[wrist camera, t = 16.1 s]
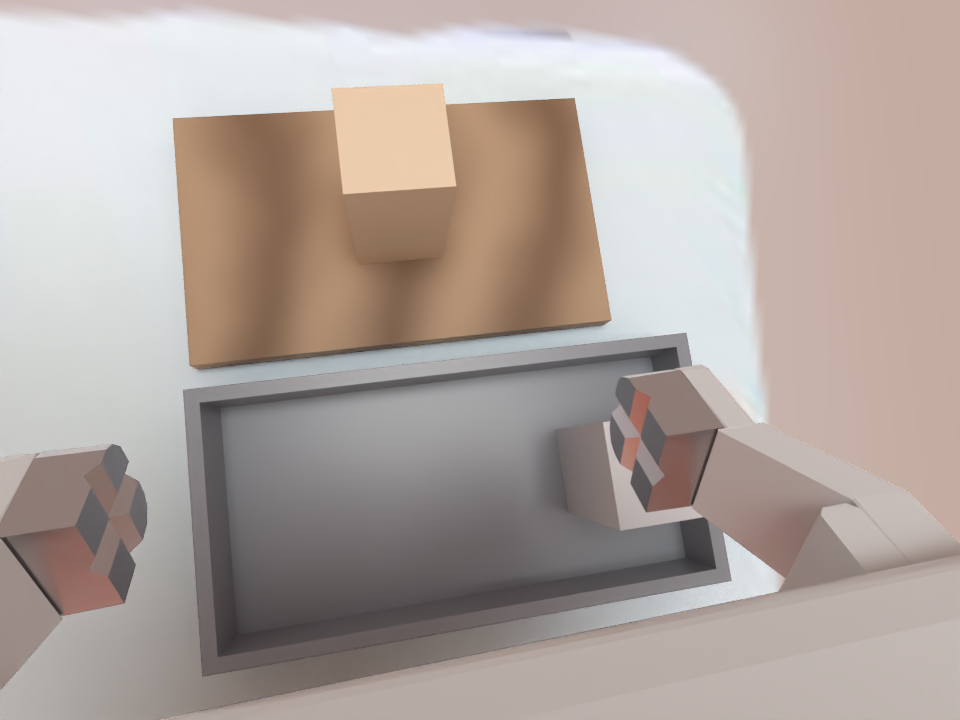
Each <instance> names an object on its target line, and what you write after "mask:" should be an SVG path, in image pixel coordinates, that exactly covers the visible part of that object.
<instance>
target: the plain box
mask: <svg viewBox="0 0 960 720" xmlns="http://www.w3.org/2000/svg"><path fill="white" fill-rule="evenodd" d="M609 427H610V421H608V422H601V423H594V424H588V425H581V426H574V427H568V428H561V429H556V434H557V441H558V447H559V454H560V461H561V467H562V474H563V481H564V487H565V494H566V501H567V507H568V512H569V513H572V514H575V515H578V516H580V517H583V518H586V519H589V520H592V521H594V522H597V523H600V524H603V525H606V526H608V527H611V528H614V529H617V530H620V531H622V530H628V529H634V528H640V527H647V526H653V525H659V524H665V523H671V522H677V521H683V520H690V519H696V518H702V517H703V516H702V515H700V514H699V513H698V512H696V511H695V510H694V509H692V507H693V506H689V507H682V508H675V509H668V510H661V511H654V512H648V513H646V512H645V510H644V508H643V506H642V504H641V502H640V500H639V499H638V497H637V495H636V493H635V491H634V489H633V488H632V486H631V484H630V482H631V477H632V473H633V472H632V471H630V470H628V469H627V468H625V467H624V466H622V465H620V463H619V461H618V459H617V457H616V455H615V453H614V450H613V447H612V444H611V438H610V429H609Z"/></svg>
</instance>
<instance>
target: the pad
mask: <svg viewBox="0 0 960 720" xmlns="http://www.w3.org/2000/svg"><path fill="white" fill-rule="evenodd" d="M446 113H447V120H448V127H449V135H450V142H451V150H452V157H453V165H454V172H455V180H456V191H455V195H454V200H453V205H452V210H451V214H450V219H449V224H448V229H447V233H446V238H445V243H444V248H443V253H442V257H439V258H428V259H416V260H405V261H393V262H382V263H371V264H358V259H357V255H356V250H355V246H354V241H353V237H352V232H351V228H350V223H349V219H348V214H347V210H346V205H345V201H344V196H343V189H342V180H341V171H340V161H339V152H338V143H337V133H336V124H335V115H334V110H331V111H311V112H291V113H271V114H251V115H232V116H212V117H192V118H173V130H174V145H175V159H176V173H177V188H178V202H179V217H180V231H181V246H182V260H183V275H184V289H185V303H186V318H187V332H188V347H189V361H190V366H192V367H194V368H197V369H205V368H214V367H223V366H232V365H241V364H251V363H260V362H269V361H278V360H287V359H296V358H305V357H315V356H324V355H333V354H342V353H351V352H360V351H370V350H379V349H388V348H397V347H406V346H415V345H424V344H434V343H443V342H452V341H461V340H470V339H479V338H489V337H498V336H507V335H516V334H525V333H534V332H543V331H553V330H562V329H571V328H580V327H589V326H598V325H604V324H606V323H607V322H609V321H611V315H610V309H609V303H608V297H607V291H606V285H605V279H604V273H603V267H602V261H601V255H600V248H599V242H598V236H597V230H596V224H595V218H594V212H593V206H592V200H591V194H590V188H589V182H588V176H587V170H586V164H585V158H584V152H583V146H582V140H581V134H580V128H579V122H578V116H577V110H576V104H575V98H568V99H549V100H529V101H509V102H489V103H469V104H450V105H446Z"/></svg>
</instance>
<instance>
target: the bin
mask: <svg viewBox="0 0 960 720" xmlns="http://www.w3.org/2000/svg"><path fill="white" fill-rule="evenodd" d="M689 366H692V361H691V356H690V350H689V345H688V339H687V334H686V333H680V334H671V335H663V336H654V337H645V338H636V339H627V340H619V341H610V342H601V343H592V344H583V345H575V346H566V347H557V348H548V349H539V350H531V351H522V352H513V353H504V354H495V355H487V356H478V357H469V358H460V359H451V360H443V361H434V362H425V363H416V364H407V365H399V366H390V367H381V368H372V369H363V370H355V371H346V372H337V373H328V374H320V375H311V376H302V377H293V378H284V379H276V380H267V381H258V382H249V383H240V384H232V385H223V386H214V387H205V388H196V389H188V390H183V395H184V410H185V425H186V440H187V455H188V470H189V484H190V499H191V514H192V529H193V544H194V559H195V573H196V588H197V603H198V618H199V633H200V648H201V663H202V677H203V676H209V675H214V674H220V673H225V672H231V671H236V670H242V669H247V668H253V667H259V666H264V665H270V664H275V663H281V662H286V661H292V660H297V659H303V658H308V657H314V656H319V655H325V654H330V653H336V652H341V651H347V650H352V649H358V648H363V647H369V646H374V645H380V644H386V643H391V642H397V641H402V640H408V639H413V638H419V637H424V636H430V635H435V634H441V633H446V632H452V631H457V630H463V629H468V628H474V627H479V626H485V625H490V624H496V623H501V622H507V621H513V620H518V619H524V618H529V617H535V616H540V615H546V614H551V613H557V612H562V611H568V610H573V609H579V608H584V607H590V606H595V605H601V604H606V603H612V602H617V601H623V600H629V599H634V598H640V597H645V596H651V595H656V594H662V593H667V592H673V591H678V590H684V589H689V588H695V587H700V586H706V585H711V584H717V583H722V582H728V581H732V580H731V575H730V569H729V564H728V558H727V553H726V547H725V542H724V536H723V531H722V530H720V529H719V528H718V527H716V526H715V525H714V524H712V523H711V522H710V521H708V520H707V519H706V518H704V517H702V518H696V519H690V520H683V521H677V522H671V523H665V524H659V525H653V526H647V527H640V528H634V529H628V530H622V531H620V530H617V529H614V528H611V527H608V526H606V525H603V524H600V523H597V522H594V521H592V520H589V519H586V518H583V517H580V516H578V515H575V514H572V513H569V512H568V507H567V501H566V494H565V487H564V481H563V474H562V467H561V461H560V454H559V447H558V441H557V434H556V429H561V428H568V427H574V426H581V425H588V424H594V423H601V422H608V421H610V420H611V414H612V412H613V411H614V410H615V409H616V408H617V407H618V406H619V405H620V403H619V401H618V399H617V397H616V396H615V391H616V386H617V383H618V381H619V379H620V378H621V377H622V376H629V375H637V374H644V373H651V372H658V371H665V370H674V369H676V368H682V367H689Z"/></svg>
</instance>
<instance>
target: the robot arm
mask: <svg viewBox="0 0 960 720" xmlns="http://www.w3.org/2000/svg"><path fill="white" fill-rule="evenodd" d="M615 396H616V397H617V399H618V401H619V403H620V405H619V406H618V407H617V408H616V409H615V410H614V411H613V412H612V414H611V420H610V427H609V429H610V438H611V444H612V447H613V450H614V453H615V455H616V457H617V459H618V461H619V463H620V465H622V466H624V467H625V468H627V469H628V470H630V471H632V472H633V473H632V477H631V482H630V484H631V486H632V488H633V489H634V491H635V493H636V495H637V497H638V499H639V500H640V502H641V504H642V506H643V508H644V510H645V512H646V513H648V512H654V511H661V510H668V509H675V508H682V507H689V506H693V507H692V509H694V510H695V511H696V512H698V513H699V514H700V515H702V516H703V517H704V518H706V519H707V520H708V521H710V522H711V523H712V524H714V525H715V526H716V527H718V528H719V529H720V530H722V531H723V532H724V533H726V534H727V535H728V536H730V537H731V538H732V539H734V540H735V541H736V542H738V543H739V544H740V545H742V546H743V547H744V548H746V549H747V550H748V551H750V552H751V553H752V554H754V555H755V556H756V557H758V558H759V559H761V560H762V561H763V562H765V563H766V564H767V565H769V566H770V567H771V568H773V569H774V570H775V571H777V572H778V573H779V574H781V575H782V576H783V577H785V580H784V582H783V583H782V585H781V587H780V589H779V591H778V592H775V593H770V594H766V595H761V596H756V597H751V598H746V599H741V600H736V601H732V602H727V603H722V604H717V605H712V606H707V607H702V608H697V609H693V610H688V611H683V612H678V613H673V614H668V615H663V616H659V617H654V618H649V619H644V620H639V621H634V622H630V623H625V624H620V625H615V626H610V627H605V628H600V629H596V630H591V631H586V632H581V633H576V634H571V635H567V636H562V637H557V638H552V639H547V640H542V641H537V642H533V643H528V644H523V645H518V646H513V647H508V648H504V649H499V650H494V651H489V652H484V653H479V654H474V655H470V656H465V657H460V658H455V659H450V660H445V661H441V662H436V663H431V664H426V665H421V666H416V667H411V668H406V669H402V670H397V671H392V672H387V673H382V674H377V675H372V676H368V677H363V678H358V679H353V680H348V681H343V682H338V683H334V684H329V685H324V686H319V687H314V688H309V689H304V690H299V691H295V692H290V693H285V694H280V695H275V696H270V697H265V698H261V699H256V700H251V701H246V702H241V703H236V704H231V705H226V706H222V707H217V708H212V709H207V710H202V711H197V712H192V713H188V714H183V715H178V716H173V717H168V718H163V719H158V720H960V543H959V542H958V541H957V540H956V539H955V538H954V537H953V536H952V535H951V534H950V533H949V532H948V531H947V530H946V529H945V528H944V527H943V526H942V525H941V524H940V523H939V522H938V521H937V520H936V519H935V518H934V517H933V516H932V515H931V514H930V513H929V512H928V511H927V510H926V509H925V508H924V507H923V506H922V505H921V504H920V503H919V502H918V501H917V500H916V499H915V498H914V497H913V496H912V495H911V494H910V493H909V492H908V491H907V490H905V489H903V488H900V487H898V486H896V485H894V484H892V483H890V482H888V481H886V480H884V479H881V478H879V477H877V476H875V475H873V474H871V473H869V472H866V471H865V470H862V469H860V468H858V467H856V466H854V465H851V464H850V463H848V462H845V461H843V460H841V459H839V458H837V457H835V456H833V455H831V454H829V453H826V452H824V451H822V450H820V449H818V448H816V447H814V446H811V445H809V444H807V443H805V442H803V441H801V440H799V439H797V438H795V437H792V436H790V435H788V434H786V433H784V432H782V431H780V430H778V429H776V428H773V427H771V426H769V425H767V424H765V423H758V424H755V423H754V422H753V421H752V419H751V418H750V417H749V416H748V415H747V414H746V412H745V411H744V410H743V409H742V408H741V406H740V405H739V404H738V403H737V402H736V401H735V399H734V398H733V397H732V396H731V395H730V393H729V392H728V391H727V390H726V389H725V388H724V386H723V385H722V384H721V383H720V382H719V380H718V379H717V378H716V377H715V376H714V375H713V373H712V372H711V371H710V370H709V369H708V368H707V367H705V366H703V365H695V366H689V367H682V368H676V369H674V370H665V371H658V372H651V373H644V374H637V375H629V376H622V377H621V378H620V379H619V381H618V383H617V386H616V391H615ZM128 462H129V461H128V459H127V458H126V456H125V454H124V452H123V450H122V449H121V447H120V446H117V445H114V444H110V445H101V446H92V447H83V448H74V449H65V450H56V451H47V452H42V453H35V454H26V455H17V456H8V457H4V458H3V459H1V460H0V690H1V689H2V688H3V687H4V686H5V685H6V683H7V682H8V681H9V680H10V679H11V678H12V677H13V675H14V674H15V673H16V672H17V671H18V670H19V668H20V667H21V666H22V665H23V664H24V663H25V662H26V660H27V659H28V658H29V657H30V656H31V655H32V653H33V652H34V651H35V650H36V649H37V648H38V647H39V645H40V644H41V643H42V642H43V641H44V640H45V639H46V637H47V636H48V635H49V634H50V633H51V632H52V630H53V629H54V628H55V627H56V626H57V625H58V624H59V622H60V621H61V620H62V617H61V616H64V615H69V614H74V613H79V612H84V611H89V610H94V609H99V608H104V607H109V606H114V605H119V604H124V603H125V600H126V596H127V593H128V589H129V586H130V582H131V579H132V576H133V572H134V569H135V565H136V564H135V563H134V561H133V559H132V557H131V555H130V554H129V553H130V552H131V551H132V550H133V549H134V548H135V547H136V546H137V545H138V544H139V543H140V542H141V541H142V540H143V537H144V533H145V529H146V525H147V504H146V499H145V495H144V492H143V490H142V487H141V485H140V483H139V481H137V480H135V479H133V478H131V477H130V476H128V475H126V474H125V471H126V468H127V465H128Z"/></svg>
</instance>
